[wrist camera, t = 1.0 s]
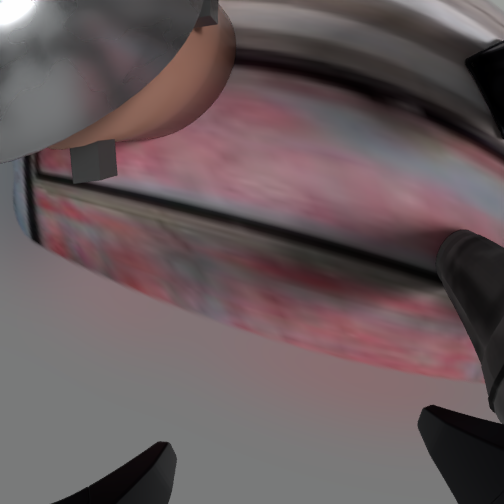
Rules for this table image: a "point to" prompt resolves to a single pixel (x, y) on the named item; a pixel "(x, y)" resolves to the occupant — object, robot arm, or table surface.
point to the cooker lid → (79, 62)
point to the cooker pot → (161, 98)
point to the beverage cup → (478, 302)
